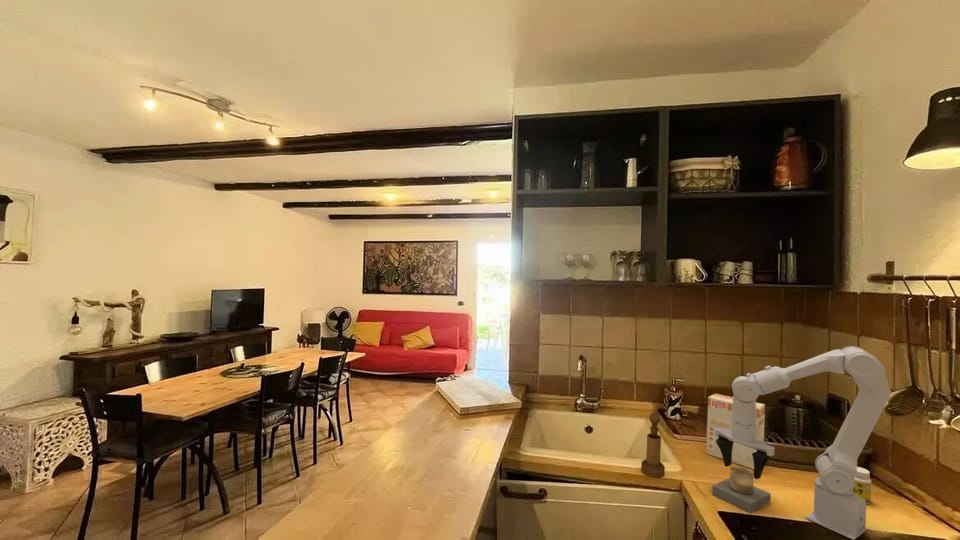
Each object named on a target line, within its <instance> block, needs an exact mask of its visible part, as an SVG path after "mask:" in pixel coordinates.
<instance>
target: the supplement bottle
mask: <svg viewBox="0 0 960 540" xmlns="http://www.w3.org/2000/svg"><path fill="white" fill-rule="evenodd" d="M870 472H871V471H869V470H868V469H866V468H864V467H860V466H857V472H856V474H855V476H854V481H855V487H854V489H853V493H854V494H856V495H857V496H859V497H861V498H863V499H864V500H865V501H866V505H869V504H870V503H871V497H872V496H871V495H872V479H871V478H870V475H871V473H870Z"/></svg>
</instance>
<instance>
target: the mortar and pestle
mask: <svg viewBox="0 0 960 540" xmlns="http://www.w3.org/2000/svg"><path fill="white" fill-rule="evenodd" d="M648 417H649V421H650V423H651V426H650V427H649V429H650V433H648V434H647V435H646V455H645V456H646V458H645V459H644V460H642V461H641V465H640V466H641V467H640V470H641V472H642V473H643V474H645V475H646V476H649V477H652V478H662V477H664V476H665V471H666V466H665V465H664V464H663V463H662V462H661V448H662V447H661V446H662V445H661V444H662V442H661V441H662V437H661V435H659V434H658V433H659V428H658V424H659V423H660V420H661V416H660V415H659V414H658V413H656V412H651V413H650V415H649V416H648Z"/></svg>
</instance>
